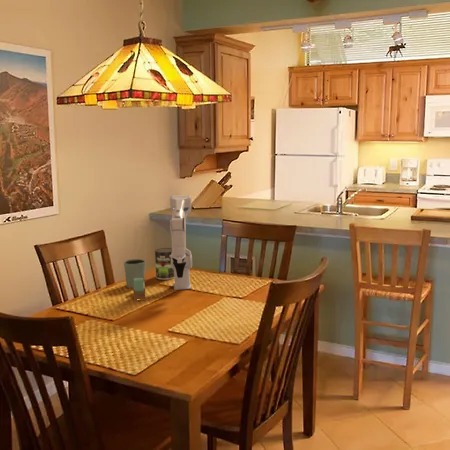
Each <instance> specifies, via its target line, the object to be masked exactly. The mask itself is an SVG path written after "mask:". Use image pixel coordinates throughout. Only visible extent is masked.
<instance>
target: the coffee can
mask: <svg viewBox="0 0 450 450" xmlns="http://www.w3.org/2000/svg"><path fill="white" fill-rule="evenodd" d="M171 253H172V247H163V248H162V247H161V248H156V249H154V255H155V256H154V259H155V260H154V261H155V278H156V279H158V280H162V281H163V280H164V281H165V280H166V281H167V280H173V279H175V278H174V269H172V268H171V257H170V255H171Z"/></svg>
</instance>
